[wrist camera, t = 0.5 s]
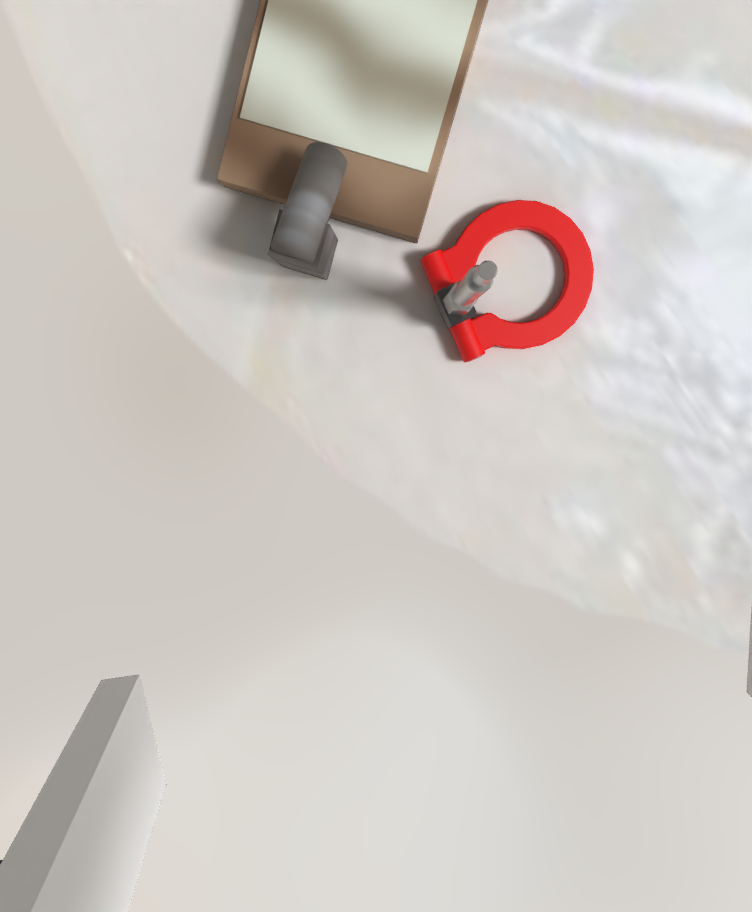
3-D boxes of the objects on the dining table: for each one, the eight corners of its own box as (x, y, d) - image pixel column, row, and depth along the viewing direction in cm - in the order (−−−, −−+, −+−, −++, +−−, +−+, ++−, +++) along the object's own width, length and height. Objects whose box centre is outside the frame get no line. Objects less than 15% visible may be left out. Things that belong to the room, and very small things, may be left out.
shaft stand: (317, -190, 34) (299, -300, 29) (526, -131, 34) (549, -229, 29) (210, 245, 38) (175, 223, 32) (399, 302, 38) (398, 289, 32)
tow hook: (555, 181, 37) (411, 248, 37) (648, 74, 24) (427, 178, 25) (608, 314, 38) (466, 377, 38) (725, 279, 25) (510, 375, 25)
